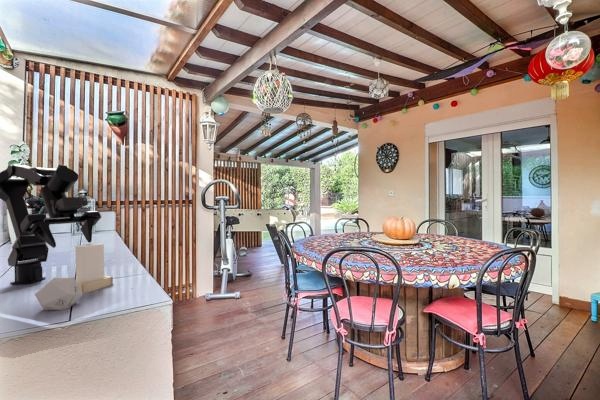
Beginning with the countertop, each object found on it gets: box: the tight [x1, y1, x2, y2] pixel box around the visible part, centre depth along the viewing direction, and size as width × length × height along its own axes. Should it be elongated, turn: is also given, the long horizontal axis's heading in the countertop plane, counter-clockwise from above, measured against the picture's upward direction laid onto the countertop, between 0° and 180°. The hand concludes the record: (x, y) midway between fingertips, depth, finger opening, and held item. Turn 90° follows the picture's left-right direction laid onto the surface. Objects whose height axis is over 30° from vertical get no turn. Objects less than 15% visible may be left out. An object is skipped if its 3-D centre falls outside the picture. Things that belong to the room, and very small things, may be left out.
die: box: [34, 276, 84, 311], centre depth 72 cm, size 8×9×10 cm
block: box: [74, 242, 105, 284], centre depth 87 cm, size 5×5×13 cm
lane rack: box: [77, 275, 115, 295], centre depth 89 cm, size 16×10×3 cm, turn 70°
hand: (73, 244), depth 85 cm, fingers open, 9 cm apart
